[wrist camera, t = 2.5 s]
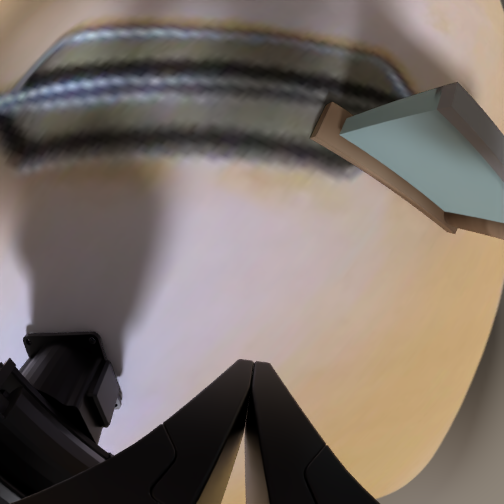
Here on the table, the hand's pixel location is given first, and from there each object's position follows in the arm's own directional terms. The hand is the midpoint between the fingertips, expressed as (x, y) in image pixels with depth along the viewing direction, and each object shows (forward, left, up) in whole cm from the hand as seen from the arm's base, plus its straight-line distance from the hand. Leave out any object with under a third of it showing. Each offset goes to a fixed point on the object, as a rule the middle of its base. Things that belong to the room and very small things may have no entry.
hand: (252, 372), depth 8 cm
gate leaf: (+12, +5, -10) cm, 17 cm away
